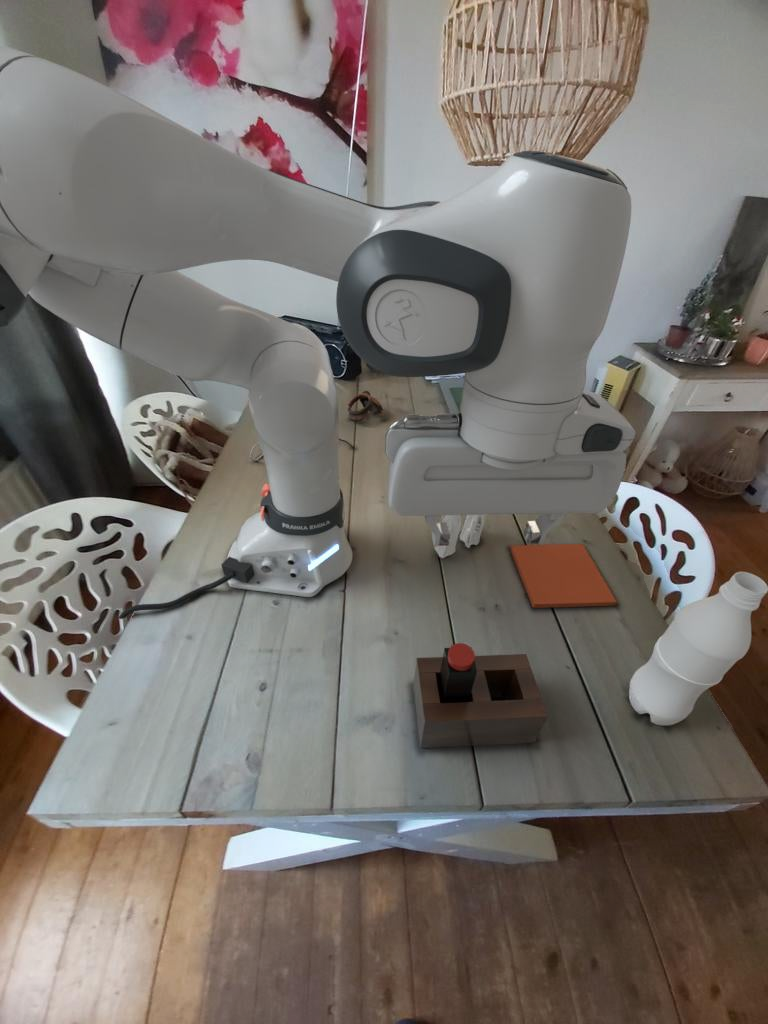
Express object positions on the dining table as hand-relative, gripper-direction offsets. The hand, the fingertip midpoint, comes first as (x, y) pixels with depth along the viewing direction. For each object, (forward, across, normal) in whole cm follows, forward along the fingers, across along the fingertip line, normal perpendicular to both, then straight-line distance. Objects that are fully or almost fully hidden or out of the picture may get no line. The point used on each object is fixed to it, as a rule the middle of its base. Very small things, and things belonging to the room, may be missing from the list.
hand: (486, 540), depth 44 cm
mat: (+28, +22, +20) cm, 41 cm away
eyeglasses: (+28, -27, +61) cm, 72 cm away
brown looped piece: (+28, -11, +81) cm, 87 cm away
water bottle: (+28, +27, -4) cm, 39 cm away
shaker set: (+28, +5, +28) cm, 40 cm away
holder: (+28, +2, -4) cm, 28 cm away
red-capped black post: (+28, -1, -4) cm, 28 cm away
